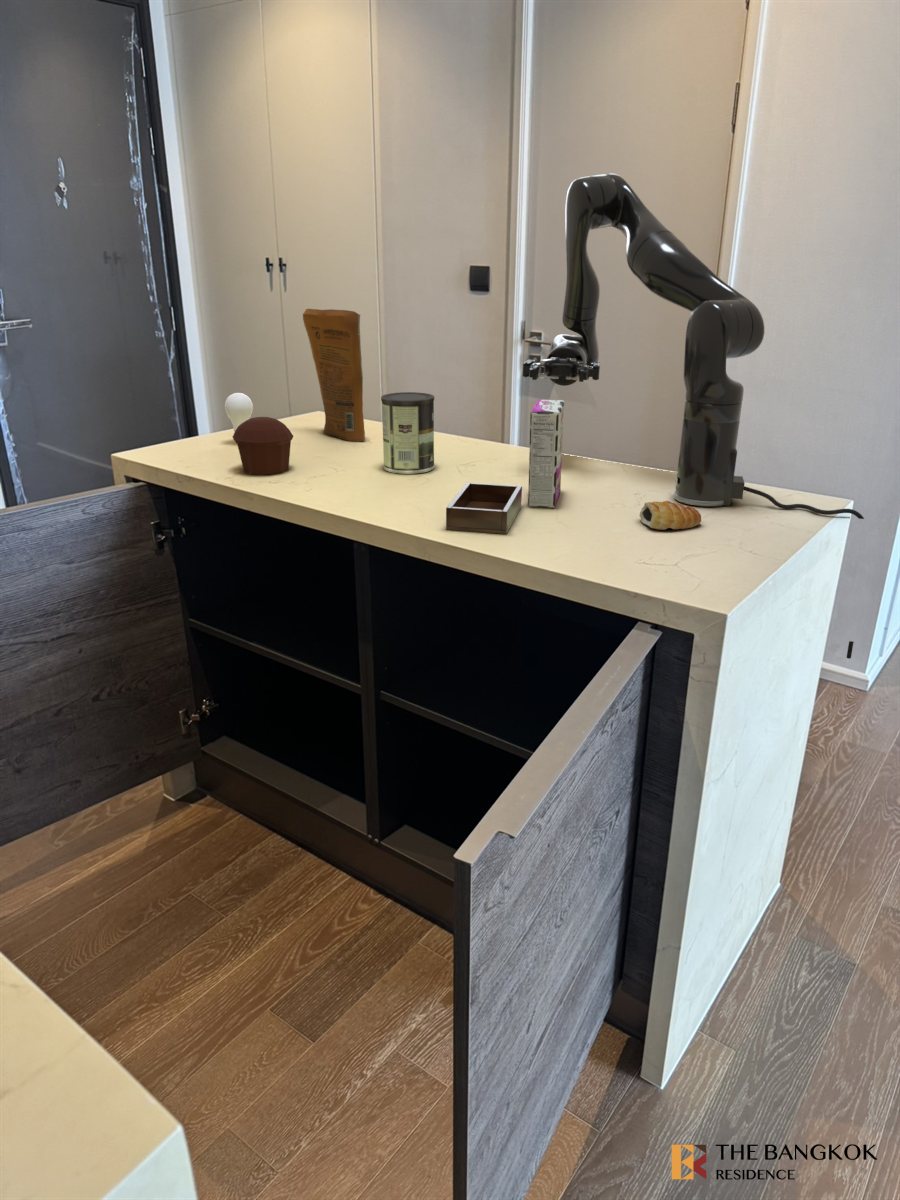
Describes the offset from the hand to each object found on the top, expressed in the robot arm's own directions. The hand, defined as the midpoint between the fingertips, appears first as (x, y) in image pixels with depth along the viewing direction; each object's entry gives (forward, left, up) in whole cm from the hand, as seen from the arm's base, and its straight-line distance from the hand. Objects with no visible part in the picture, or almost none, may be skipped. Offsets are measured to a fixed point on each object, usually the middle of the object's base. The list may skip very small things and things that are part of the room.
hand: (557, 375), depth 156 cm
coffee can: (+29, -2, -20) cm, 35 cm away
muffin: (+56, +6, -20) cm, 60 cm away
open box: (+8, +27, -19) cm, 34 cm away
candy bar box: (0, +14, -20) cm, 24 cm away
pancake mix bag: (+52, -27, -20) cm, 62 cm away
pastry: (-21, +24, -20) cm, 37 cm away
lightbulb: (+71, -15, -20) cm, 75 cm away
